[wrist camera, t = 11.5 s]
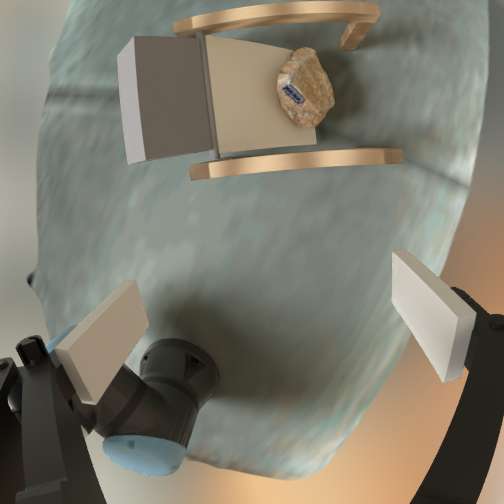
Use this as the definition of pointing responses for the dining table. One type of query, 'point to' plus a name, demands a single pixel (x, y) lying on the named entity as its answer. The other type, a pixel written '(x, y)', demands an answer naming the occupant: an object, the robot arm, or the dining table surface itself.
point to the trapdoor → (202, 97)
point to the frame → (281, 13)
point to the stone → (305, 89)
